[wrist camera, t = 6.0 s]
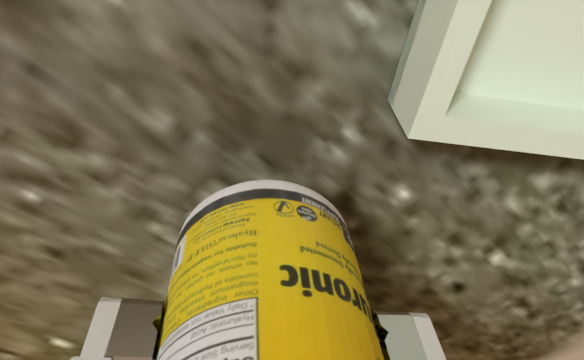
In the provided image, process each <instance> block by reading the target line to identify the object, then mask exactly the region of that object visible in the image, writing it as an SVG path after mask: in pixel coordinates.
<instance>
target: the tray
mask: <svg viewBox="0 0 584 360" xmlns="http://www.w3.org/2000/svg"><path fill="white" fill-rule="evenodd" d="M387 100H388V102H389V104H390V106H391V107H392V109H393V111H394V113H395V115H396V117H397V119H398V121H399V123H400V124H401V126H402V128H403V130H404V132H405V134H406V136H407V138H408V139H417V140H425V141H433V142H442V143H450V144H458V145H467V146H475V147H483V148H492V149H500V150H508V151H517V152H525V153H533V154H542V155H550V156H558V157H567V158H575V159H583V160H584V0H419V1H418V4H417V7H416V11H415V14H414V17H413V20H412V23H411V26H410V29H409V33H408V36H407V39H406V42H405V45H404V48H403V52H402V55H401V58H400V61H399V64H398V67H397V71H396V74H395V77H394V80H393V83H392V86H391V90H390V93H389V96H388V99H387Z"/></svg>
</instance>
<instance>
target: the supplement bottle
mask: <svg viewBox="0 0 584 360" xmlns="http://www.w3.org/2000/svg"><path fill="white" fill-rule="evenodd" d="M155 360H384V357H383V354H382V350H381V346H380V343H379V339H378V335H377V332H376V329H375V325H374V321H373V317H372V314H371V310H370V306H369V302H368V299H367V295H366V291H365V287H364V284H363V280H362V277H361V273H360V269H359V266H358V262H357V257H356V252H355V249H354V246H353V243H352V241H351V237H350V234H349V231H348V228H347V225H346V223H345V221H344V219H343V217H342V216H341V214H340V213H339V211H338V210H337V209H336V208H335V207H334V206H333V205H332V204H331V203H330V202H329V201H328V200H327V199H326V198H324V197H323V196H322V195H320V194H318V193H317V192H315V191H313V190H311V189H309V188H307V187H304V186H301V185H298V184H295V183H291V182H287V181H281V180H254V181H247V182H243V183H239V184H236V185H232V186H229V187H227V188H224V189H222V190H220V191H218V192H216V193H214V194H213V195H211V196H209V197H208V198H207V199H205V200H204V201H202V202H201V203H200V204H199V205H198V206H197V207H196V208H195V209H194V210H193V211H192V212H191V214H190V215H189V216H188V218H187V219H186V221H185V223H184V225H183V227H182V229H181V232H180V235H179V239H178V242H177V246H176V252H175V257H174V260H173V267H172V272H171V278H170V283H169V288H168V294H167V299H166V304H165V310H164V316H163V322H162V327H161V332H160V338H159V342H158V348H157V353H156V359H155Z"/></svg>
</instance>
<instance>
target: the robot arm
mask: <svg viewBox="0 0 584 360" xmlns="http://www.w3.org/2000/svg"><path fill="white" fill-rule="evenodd" d="M164 310H165V302H164V301H156V300H142V299H129V298H114V297H102V298H101V299H100V301H99V302H98V305H97V308H96V311H95V314H94V317H93V319H92V322H91V325H90V328H89V331H88V334H87V337H86V340H85V343H84V346H83V349H82V352H81V355H80V356H73V357H72V358H71V359H70V360H155V359H156V353H157V348H158V342H159V338H160V332H161V327H162V322H163V316H164ZM371 314H372V317H373V321H374V325H375V329H376V332H377V335H378V339H379V343H380V346H381V350H382V354H383V357H384V360H446V357H445V355H444V352H443V350H442V347H441V345H440V342H439V340H438V337H437V335H436V332H435V330H434V327H433V325H432V322H431V320H430V317H429V316H428V315H427V314H426V313H407V312H393V311H373V312H372V313H371Z"/></svg>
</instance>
